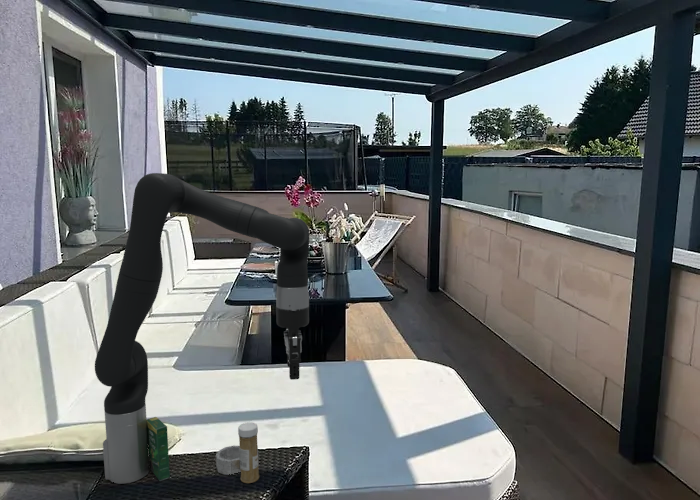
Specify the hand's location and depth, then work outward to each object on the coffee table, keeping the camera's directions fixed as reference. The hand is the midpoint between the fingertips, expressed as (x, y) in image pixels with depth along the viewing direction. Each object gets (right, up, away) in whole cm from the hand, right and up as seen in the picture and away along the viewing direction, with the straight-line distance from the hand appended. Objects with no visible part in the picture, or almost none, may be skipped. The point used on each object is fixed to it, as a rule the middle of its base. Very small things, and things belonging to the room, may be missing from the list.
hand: (293, 372), depth 121 cm
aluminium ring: (-16, -26, +9) cm, 32 cm away
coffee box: (-34, -27, +7) cm, 44 cm away
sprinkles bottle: (-11, -27, +4) cm, 29 cm away
